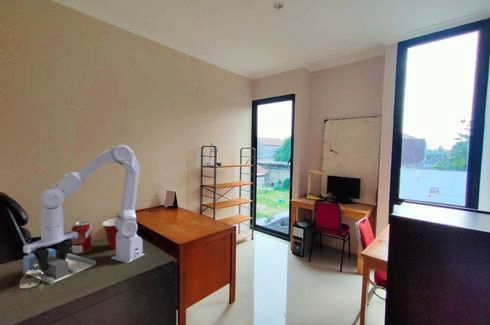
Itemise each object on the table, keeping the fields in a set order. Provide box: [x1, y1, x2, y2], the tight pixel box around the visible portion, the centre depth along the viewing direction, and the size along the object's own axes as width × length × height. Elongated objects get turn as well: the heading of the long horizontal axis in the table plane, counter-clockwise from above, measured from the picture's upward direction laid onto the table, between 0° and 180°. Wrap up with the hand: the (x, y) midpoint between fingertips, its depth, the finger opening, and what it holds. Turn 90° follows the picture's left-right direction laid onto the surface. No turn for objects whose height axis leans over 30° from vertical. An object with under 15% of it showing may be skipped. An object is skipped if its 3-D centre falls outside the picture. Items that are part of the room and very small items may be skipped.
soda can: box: [70, 220, 93, 255], centre depth 95 cm, size 7×7×12 cm
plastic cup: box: [101, 217, 118, 250], centre depth 100 cm, size 11×11×12 cm
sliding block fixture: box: [22, 248, 97, 285], centre depth 80 cm, size 16×14×6 cm
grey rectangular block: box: [37, 256, 68, 280], centre depth 76 cm, size 10×4×4 cm, turn 67°
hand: (53, 266), depth 76 cm, fingers open, 4 cm apart
